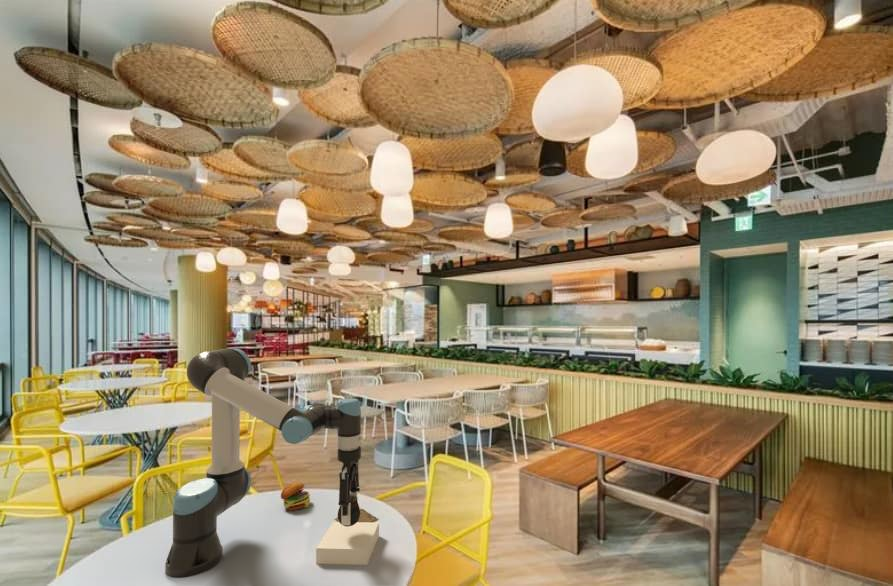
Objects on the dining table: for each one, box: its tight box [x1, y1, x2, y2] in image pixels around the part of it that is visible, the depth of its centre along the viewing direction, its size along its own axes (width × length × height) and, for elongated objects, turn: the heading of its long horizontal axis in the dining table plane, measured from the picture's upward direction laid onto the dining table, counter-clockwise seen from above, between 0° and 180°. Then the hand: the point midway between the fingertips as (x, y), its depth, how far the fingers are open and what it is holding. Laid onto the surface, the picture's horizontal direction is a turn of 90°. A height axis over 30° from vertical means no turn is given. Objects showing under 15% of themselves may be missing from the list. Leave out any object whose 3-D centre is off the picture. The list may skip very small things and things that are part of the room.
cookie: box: [334, 508, 379, 523], centre depth 153 cm, size 12×12×1 cm
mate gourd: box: [337, 495, 361, 527], centre depth 134 cm, size 7×8×10 cm
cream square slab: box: [315, 521, 380, 566], centre depth 134 cm, size 16×16×5 cm
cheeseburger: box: [280, 481, 311, 511], centre depth 164 cm, size 10×11×10 cm
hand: (349, 518), depth 134 cm, fingers closed on mate gourd, 7 cm apart
